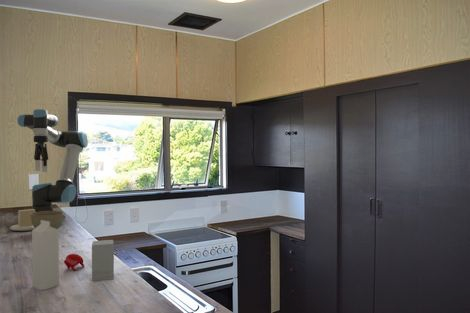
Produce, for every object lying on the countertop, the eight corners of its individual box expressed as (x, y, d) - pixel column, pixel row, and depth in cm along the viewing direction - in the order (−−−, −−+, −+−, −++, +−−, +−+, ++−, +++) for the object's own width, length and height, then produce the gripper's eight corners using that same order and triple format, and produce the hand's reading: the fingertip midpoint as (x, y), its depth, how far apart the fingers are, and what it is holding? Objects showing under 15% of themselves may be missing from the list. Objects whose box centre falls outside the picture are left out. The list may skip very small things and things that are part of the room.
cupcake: (68, 224, 240) (67, 204, 240) (60, 226, 232) (60, 206, 231) (54, 223, 241) (54, 204, 241) (46, 226, 233) (46, 206, 232)
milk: (50, 282, 135) (49, 218, 135) (59, 285, 132) (58, 220, 131) (32, 287, 130) (31, 221, 130) (41, 290, 127) (40, 222, 126)
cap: (69, 265, 144) (83, 253, 148) (60, 257, 147) (73, 246, 151) (76, 277, 149) (89, 266, 153) (67, 270, 152) (79, 259, 156)
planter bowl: (30, 237, 205) (30, 216, 204) (30, 231, 219) (30, 212, 219) (64, 233, 212) (63, 213, 212) (62, 228, 226) (61, 209, 226)
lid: (6, 227, 227) (6, 210, 227) (38, 223, 238) (38, 207, 238) (14, 232, 214) (13, 213, 214) (47, 227, 225) (46, 210, 225)
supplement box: (113, 279, 137) (113, 243, 137) (91, 281, 135) (91, 245, 135) (114, 273, 145) (113, 239, 144) (92, 275, 142) (92, 240, 142)
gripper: (28, 136, 239) (28, 170, 240) (39, 134, 220) (40, 172, 221) (41, 136, 244) (41, 170, 244) (54, 135, 225) (54, 172, 226)
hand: (41, 171), depth 233 cm, fingers open, 13 cm apart
